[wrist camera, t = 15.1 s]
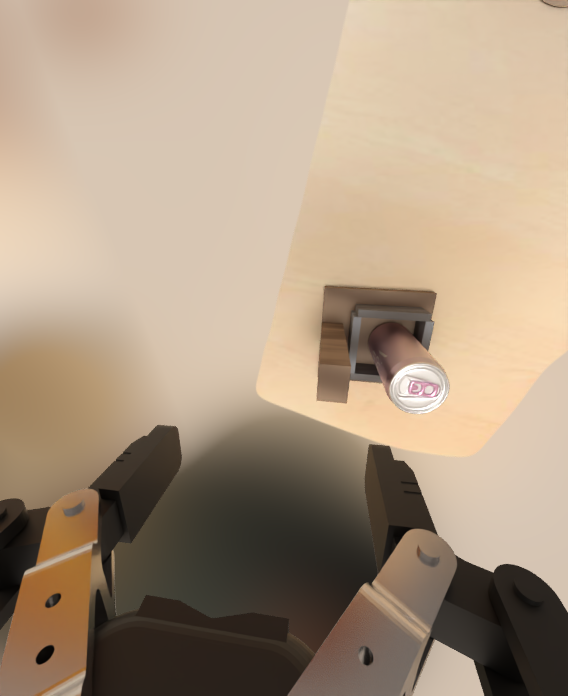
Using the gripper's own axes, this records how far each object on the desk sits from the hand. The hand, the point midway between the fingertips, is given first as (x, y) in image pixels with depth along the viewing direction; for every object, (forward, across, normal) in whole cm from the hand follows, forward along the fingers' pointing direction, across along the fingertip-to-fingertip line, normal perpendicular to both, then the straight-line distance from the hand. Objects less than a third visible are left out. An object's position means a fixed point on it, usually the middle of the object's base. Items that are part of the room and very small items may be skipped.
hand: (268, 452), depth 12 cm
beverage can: (+33, -12, +5) cm, 35 cm away
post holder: (+34, -9, +5) cm, 36 cm away
